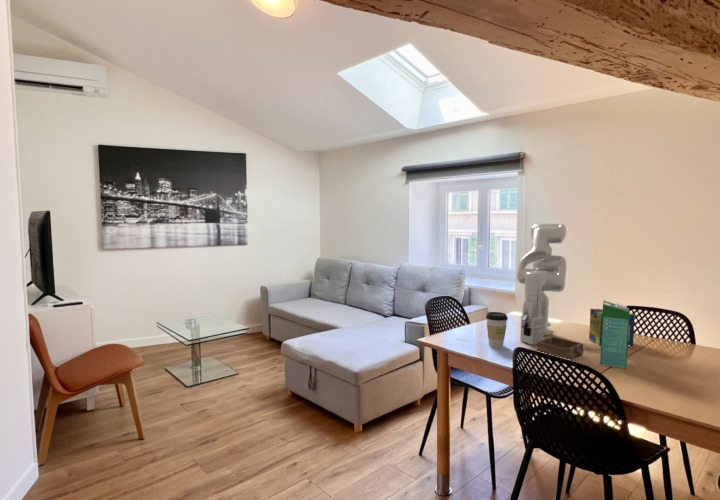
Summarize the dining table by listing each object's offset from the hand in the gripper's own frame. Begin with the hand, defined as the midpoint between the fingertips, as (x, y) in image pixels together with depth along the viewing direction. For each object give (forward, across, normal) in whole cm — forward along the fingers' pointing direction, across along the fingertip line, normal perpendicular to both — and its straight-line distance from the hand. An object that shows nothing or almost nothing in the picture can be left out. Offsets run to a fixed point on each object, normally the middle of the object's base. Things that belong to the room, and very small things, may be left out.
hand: (531, 333), depth 194 cm
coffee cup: (+4, +18, -8) cm, 20 cm away
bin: (+4, +6, +16) cm, 18 cm away
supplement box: (+4, 0, 0) cm, 4 cm away
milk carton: (+4, 0, +35) cm, 35 cm away
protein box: (+5, -29, +23) cm, 38 cm away
